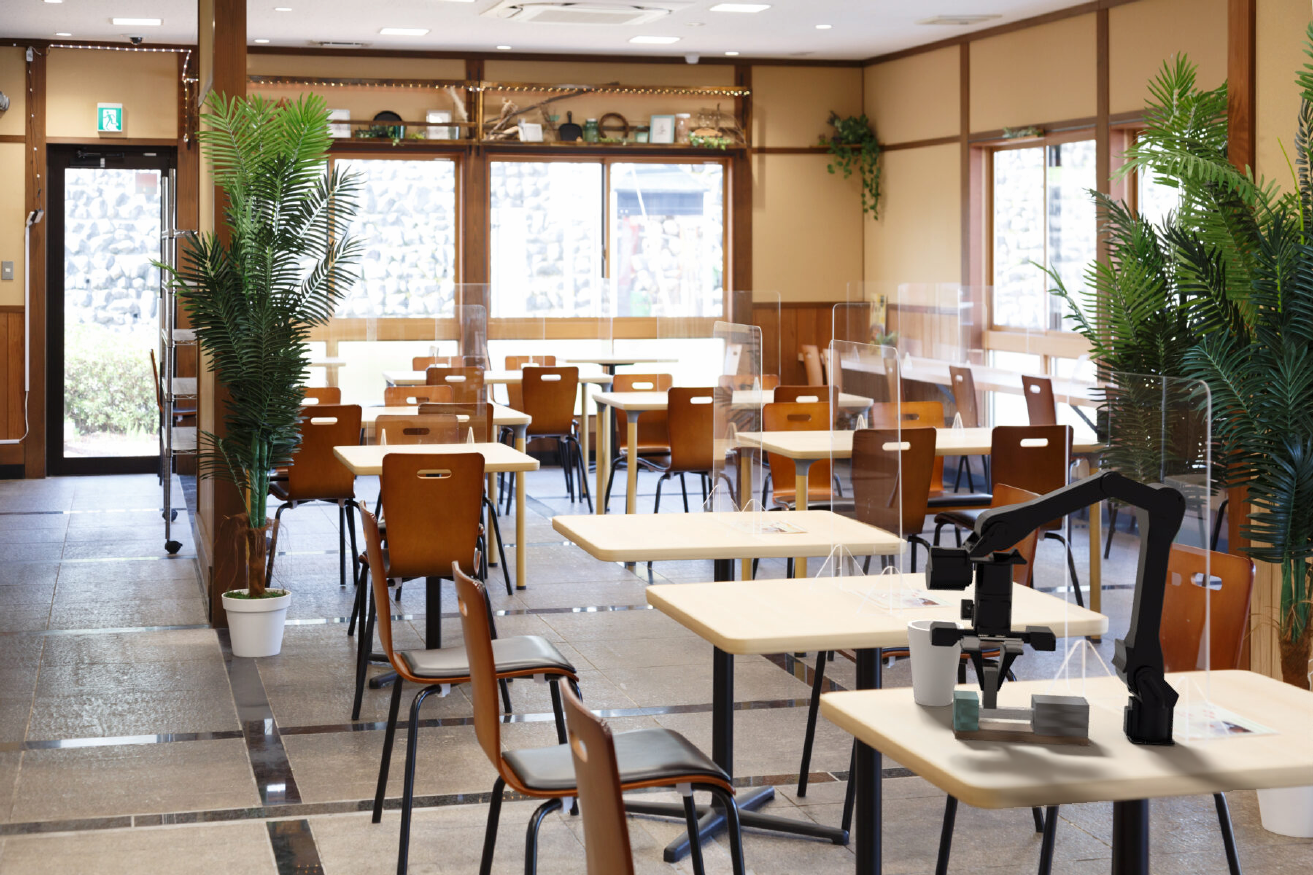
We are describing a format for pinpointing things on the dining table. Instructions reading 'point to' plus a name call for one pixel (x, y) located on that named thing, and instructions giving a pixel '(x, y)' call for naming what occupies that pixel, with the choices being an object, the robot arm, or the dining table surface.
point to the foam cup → (932, 665)
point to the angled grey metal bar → (990, 701)
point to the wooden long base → (1051, 723)
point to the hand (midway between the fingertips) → (989, 690)
